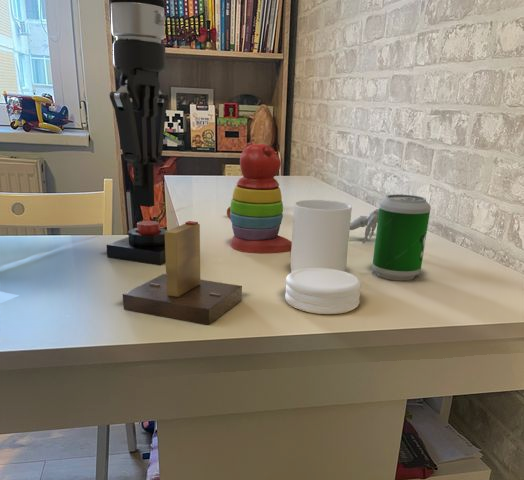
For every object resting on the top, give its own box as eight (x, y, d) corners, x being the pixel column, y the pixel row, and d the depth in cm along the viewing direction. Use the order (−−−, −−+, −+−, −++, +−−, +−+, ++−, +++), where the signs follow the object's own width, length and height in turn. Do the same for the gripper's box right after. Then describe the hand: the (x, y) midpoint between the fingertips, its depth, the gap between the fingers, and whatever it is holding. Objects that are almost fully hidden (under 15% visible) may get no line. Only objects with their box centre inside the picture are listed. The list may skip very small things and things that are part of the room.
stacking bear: (297, 250, 100) (303, 145, 93) (250, 257, 95) (253, 146, 88) (263, 237, 108) (266, 140, 101) (218, 243, 103) (218, 141, 96)
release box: (107, 257, 92) (105, 233, 90) (140, 244, 100) (139, 222, 99) (160, 265, 88) (159, 241, 87) (190, 251, 97) (189, 228, 95)
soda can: (416, 284, 84) (429, 203, 79) (367, 278, 86) (376, 198, 81) (421, 271, 91) (433, 196, 86) (375, 265, 93) (384, 191, 88)
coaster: (372, 311, 73) (376, 286, 71) (302, 318, 69) (304, 292, 68) (338, 288, 81) (340, 264, 80) (274, 293, 78) (275, 269, 76)
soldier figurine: (330, 252, 110) (390, 237, 104) (323, 225, 108) (383, 209, 102) (339, 245, 115) (396, 231, 109) (332, 219, 113) (390, 204, 108)
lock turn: (178, 297, 69) (176, 230, 66) (166, 295, 70) (164, 229, 66) (200, 284, 74) (199, 221, 71) (189, 282, 75) (188, 220, 71)
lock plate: (123, 309, 70) (122, 292, 69) (164, 287, 79) (163, 272, 78) (208, 325, 67) (208, 308, 66) (242, 300, 75) (242, 284, 74)
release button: (133, 234, 92) (132, 223, 91) (145, 230, 95) (144, 219, 94) (152, 236, 91) (151, 226, 90) (163, 232, 94) (163, 222, 93)
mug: (334, 261, 95) (340, 196, 90) (350, 282, 84) (358, 210, 79) (283, 260, 94) (287, 195, 89) (294, 282, 83) (298, 209, 79)
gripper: (136, 36, 74) (142, 214, 84) (183, 45, 86) (184, 202, 95) (89, 35, 77) (101, 208, 86) (141, 44, 88) (146, 197, 98)
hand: (144, 205), depth 91 cm, fingers closed
